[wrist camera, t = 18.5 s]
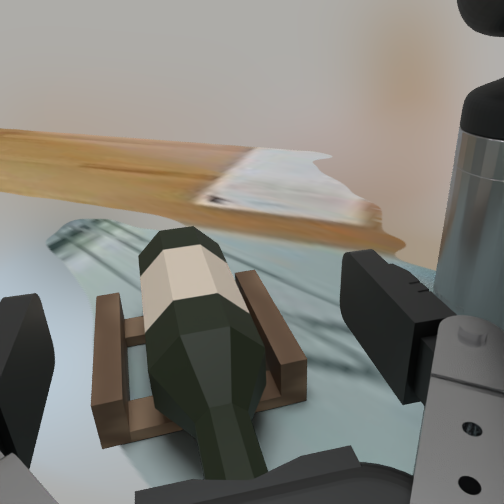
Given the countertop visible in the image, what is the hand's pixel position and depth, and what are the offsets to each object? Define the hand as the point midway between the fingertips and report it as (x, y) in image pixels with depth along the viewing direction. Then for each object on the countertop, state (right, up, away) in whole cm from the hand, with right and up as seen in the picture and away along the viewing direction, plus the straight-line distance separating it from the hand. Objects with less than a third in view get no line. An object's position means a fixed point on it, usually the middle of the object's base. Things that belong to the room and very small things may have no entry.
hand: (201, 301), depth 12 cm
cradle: (-3, -9, +26) cm, 28 cm away
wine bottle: (-6, 0, +33) cm, 33 cm away
